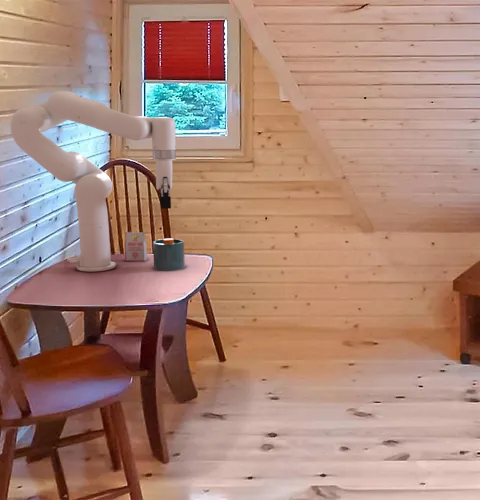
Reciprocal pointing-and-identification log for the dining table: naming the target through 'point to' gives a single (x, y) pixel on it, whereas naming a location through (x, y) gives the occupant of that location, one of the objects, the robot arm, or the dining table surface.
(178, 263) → the mug
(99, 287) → the dining table surface
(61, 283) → the dining table surface
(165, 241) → the glue stick
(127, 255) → the white printed carton
